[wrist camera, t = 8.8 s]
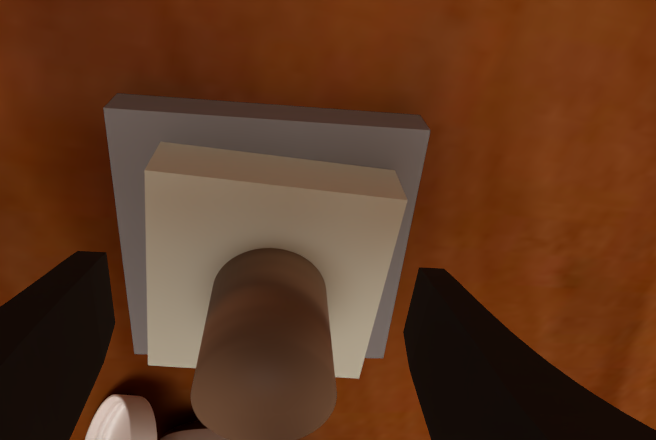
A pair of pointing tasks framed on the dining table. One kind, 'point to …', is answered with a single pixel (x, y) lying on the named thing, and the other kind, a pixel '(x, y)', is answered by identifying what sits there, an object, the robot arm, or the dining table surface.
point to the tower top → (264, 238)
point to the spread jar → (139, 422)
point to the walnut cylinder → (265, 350)
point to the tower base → (263, 138)
